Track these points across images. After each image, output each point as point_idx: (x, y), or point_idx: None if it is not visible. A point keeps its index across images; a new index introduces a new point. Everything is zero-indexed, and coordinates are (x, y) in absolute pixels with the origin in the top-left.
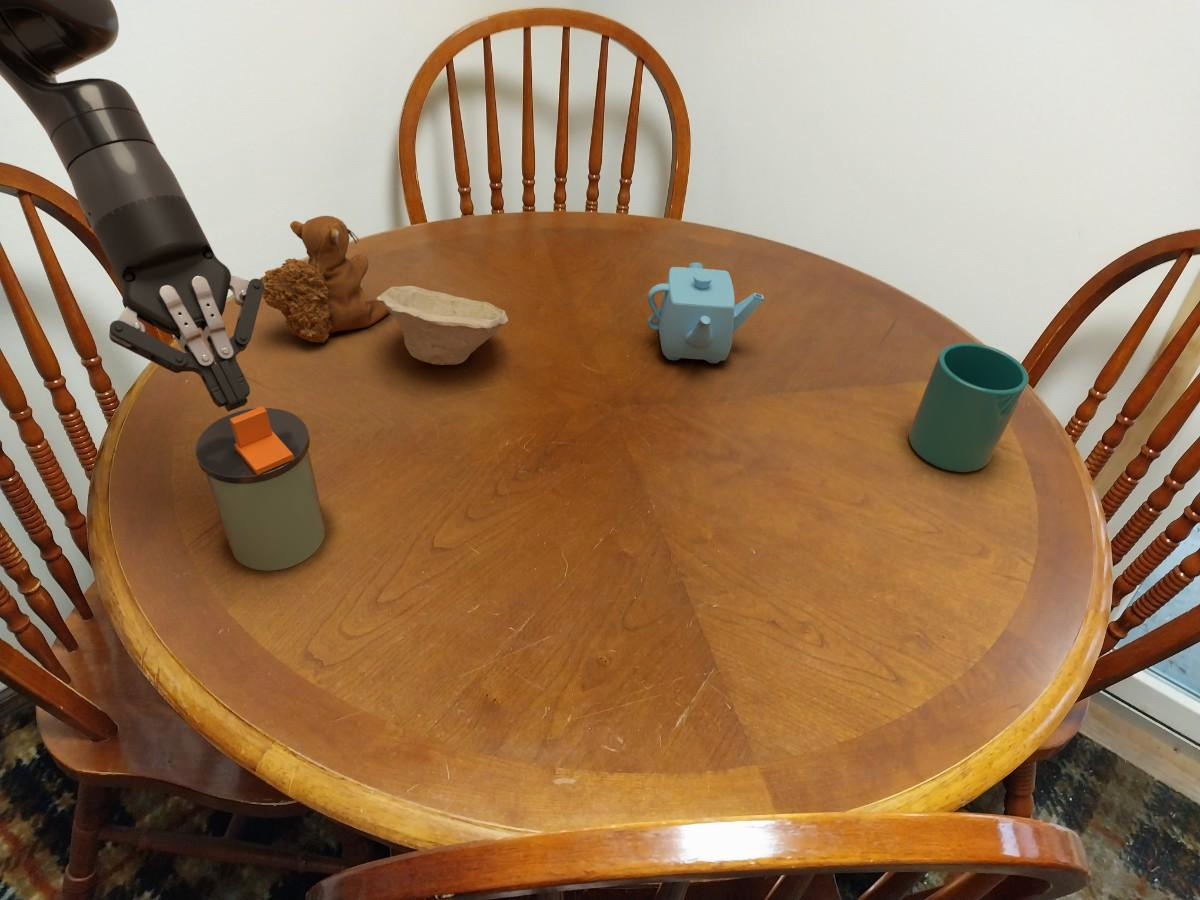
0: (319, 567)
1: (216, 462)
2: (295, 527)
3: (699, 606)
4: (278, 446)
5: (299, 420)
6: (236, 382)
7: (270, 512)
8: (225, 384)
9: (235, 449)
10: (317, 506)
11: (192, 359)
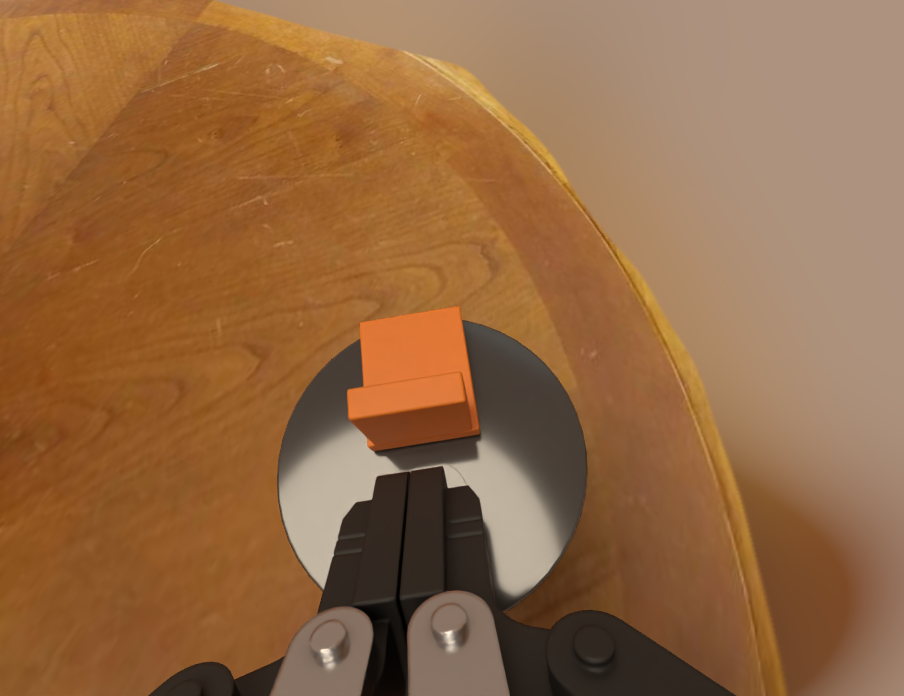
0: None
1: (539, 411)
2: None
3: (84, 147)
4: (378, 365)
5: (282, 483)
6: (377, 516)
7: None
8: (421, 518)
9: (480, 440)
10: None
11: (518, 671)
